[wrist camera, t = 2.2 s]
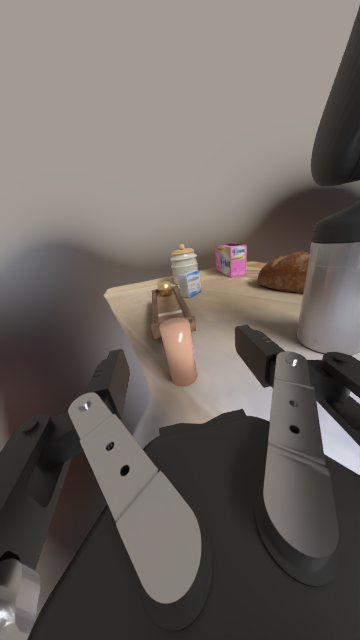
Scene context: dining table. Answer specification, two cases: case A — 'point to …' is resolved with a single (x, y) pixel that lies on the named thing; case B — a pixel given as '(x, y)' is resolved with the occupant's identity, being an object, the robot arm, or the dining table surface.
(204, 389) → the dining table surface
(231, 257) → the gum box
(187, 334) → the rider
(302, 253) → the bread
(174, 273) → the jar
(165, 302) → the beam
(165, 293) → the brass weight
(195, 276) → the medicine box
